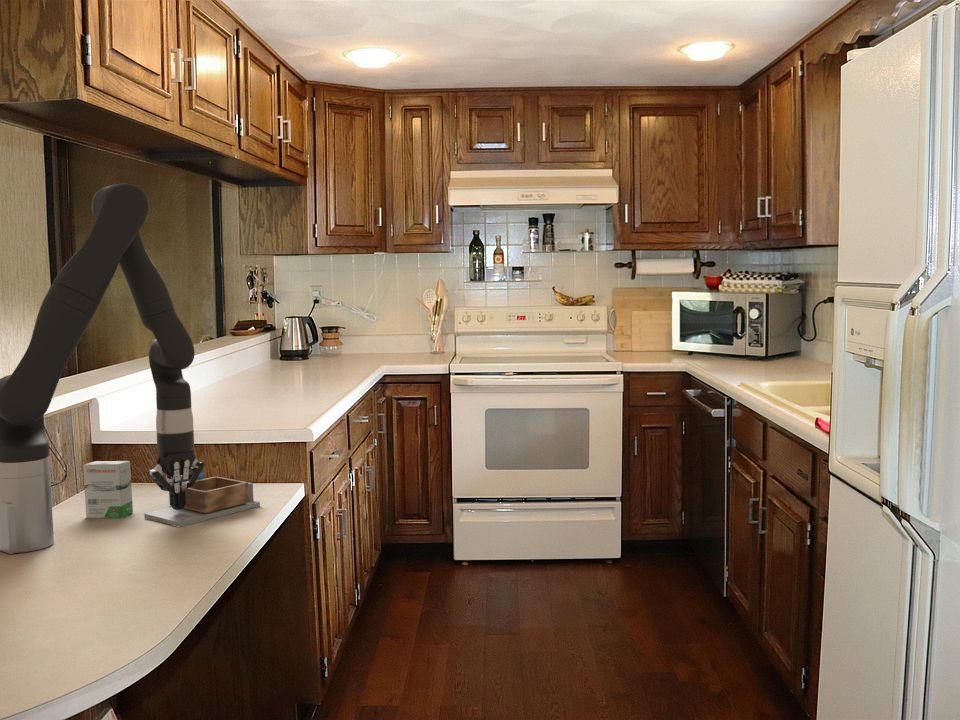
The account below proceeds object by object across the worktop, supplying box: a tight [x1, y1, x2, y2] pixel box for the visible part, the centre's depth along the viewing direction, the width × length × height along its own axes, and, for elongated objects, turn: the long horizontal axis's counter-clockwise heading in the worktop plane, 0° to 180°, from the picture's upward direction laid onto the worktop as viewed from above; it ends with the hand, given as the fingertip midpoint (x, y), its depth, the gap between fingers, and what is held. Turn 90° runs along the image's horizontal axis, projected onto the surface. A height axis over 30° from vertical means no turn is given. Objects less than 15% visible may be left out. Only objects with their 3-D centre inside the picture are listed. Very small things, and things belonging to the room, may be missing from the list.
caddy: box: [184, 476, 249, 513], centre depth 193 cm, size 12×12×4 cm
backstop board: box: [144, 479, 261, 527], centre depth 192 cm, size 21×12×5 cm, turn 143°
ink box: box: [82, 460, 134, 519], centre depth 190 cm, size 9×5×12 cm, turn 84°
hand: (178, 508), depth 187 cm, fingers closed
